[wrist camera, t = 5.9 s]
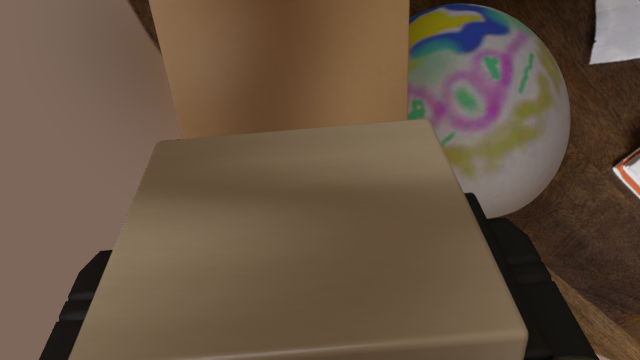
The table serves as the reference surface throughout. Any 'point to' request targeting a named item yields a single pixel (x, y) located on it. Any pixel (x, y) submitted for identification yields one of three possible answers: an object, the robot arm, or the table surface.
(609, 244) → the table surface
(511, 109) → the decorative egg
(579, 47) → the table surface
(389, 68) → the stand
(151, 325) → the block
